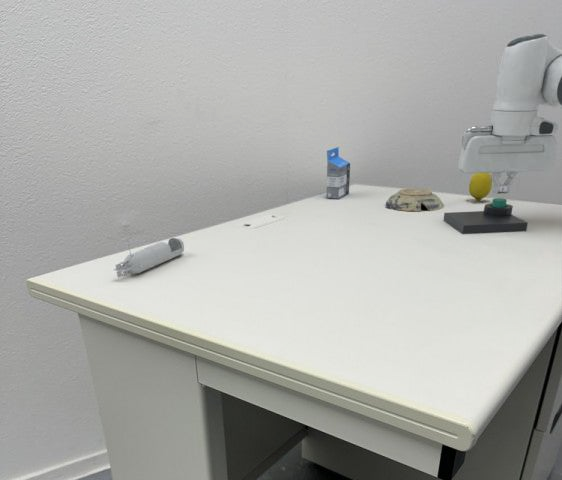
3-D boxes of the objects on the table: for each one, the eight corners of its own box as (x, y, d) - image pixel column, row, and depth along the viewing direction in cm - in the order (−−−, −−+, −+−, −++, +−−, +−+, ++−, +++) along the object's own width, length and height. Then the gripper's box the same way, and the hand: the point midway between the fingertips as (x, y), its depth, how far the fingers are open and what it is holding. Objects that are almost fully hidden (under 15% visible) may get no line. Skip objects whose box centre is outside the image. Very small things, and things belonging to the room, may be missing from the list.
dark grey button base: (502, 217, 128) (505, 202, 126) (528, 231, 117) (531, 214, 115) (442, 220, 127) (444, 205, 125) (462, 234, 116) (464, 217, 114)
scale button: (502, 205, 125) (503, 197, 124) (507, 208, 122) (509, 200, 121) (489, 206, 125) (490, 198, 124) (494, 209, 122) (496, 201, 121)
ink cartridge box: (339, 199, 150) (340, 151, 144) (325, 198, 151) (326, 150, 145) (349, 193, 157) (351, 147, 151) (336, 192, 158) (338, 146, 152)
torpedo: (171, 252, 110) (167, 219, 106) (190, 254, 108) (187, 221, 104) (108, 279, 96) (101, 242, 92) (129, 283, 94) (122, 245, 91)
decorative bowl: (417, 197, 150) (372, 203, 144) (419, 183, 148) (373, 188, 142) (455, 208, 138) (408, 215, 132) (458, 193, 136) (410, 199, 130)
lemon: (493, 202, 142) (498, 169, 138) (475, 204, 141) (480, 171, 137) (480, 198, 147) (484, 166, 143) (462, 200, 145) (467, 168, 141)
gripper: (469, 128, 112) (460, 197, 118) (566, 125, 113) (551, 194, 120) (458, 125, 117) (450, 191, 124) (550, 122, 118) (537, 188, 125)
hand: (500, 193), depth 122 cm, fingers closed
